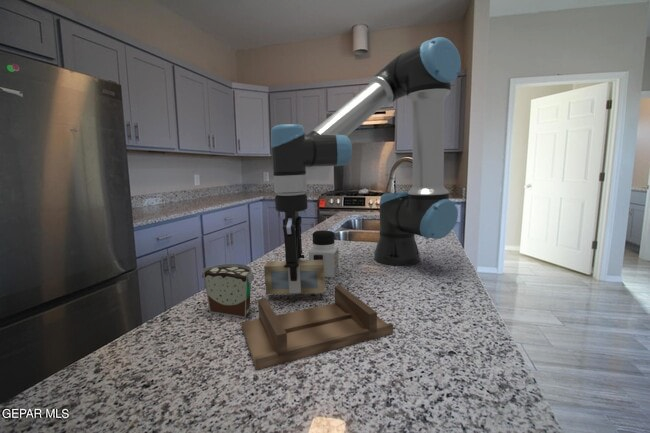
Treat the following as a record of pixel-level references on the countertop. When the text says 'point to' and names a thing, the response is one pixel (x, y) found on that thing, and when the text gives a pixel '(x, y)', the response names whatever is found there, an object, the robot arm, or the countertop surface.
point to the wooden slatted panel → (311, 329)
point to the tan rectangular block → (309, 277)
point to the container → (325, 251)
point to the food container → (228, 289)
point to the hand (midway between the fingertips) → (296, 288)
